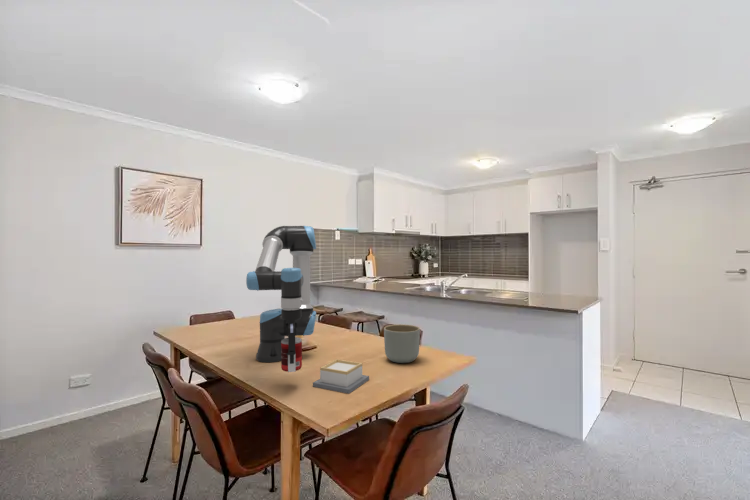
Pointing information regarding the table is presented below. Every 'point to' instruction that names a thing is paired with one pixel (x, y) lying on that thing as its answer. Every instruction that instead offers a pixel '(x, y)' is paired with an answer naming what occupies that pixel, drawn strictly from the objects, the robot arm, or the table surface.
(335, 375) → the base
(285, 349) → the canned food
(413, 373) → the table surface
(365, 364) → the table surface
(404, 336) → the planter
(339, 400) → the table surface
